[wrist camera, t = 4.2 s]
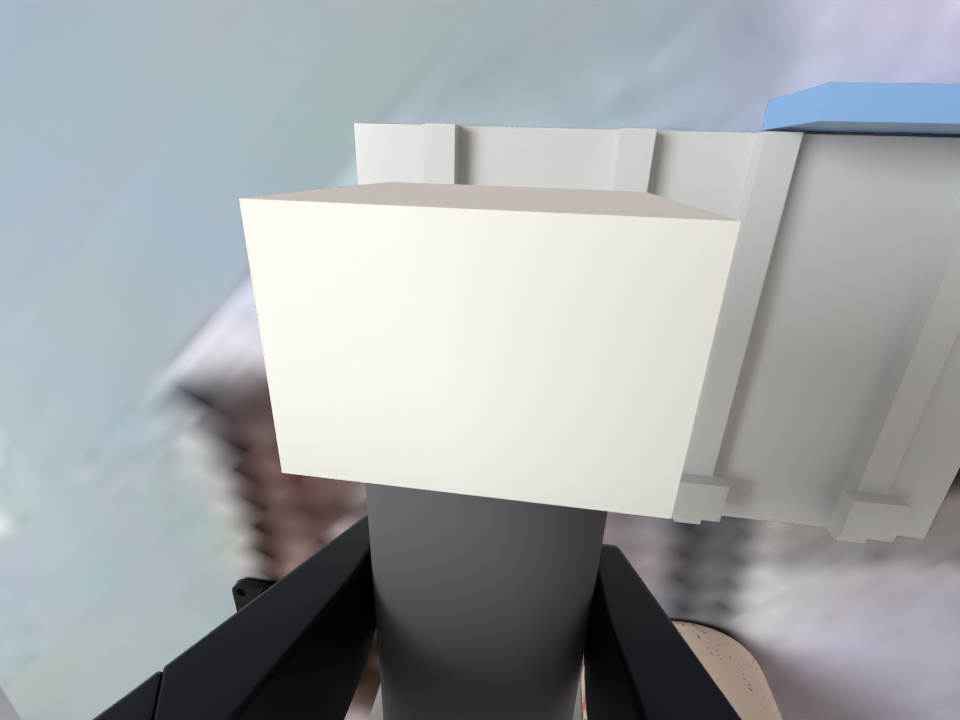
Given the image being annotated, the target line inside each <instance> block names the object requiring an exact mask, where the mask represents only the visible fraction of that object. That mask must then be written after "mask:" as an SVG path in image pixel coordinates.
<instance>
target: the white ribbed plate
mask: <svg viewBox="0 0 960 720" xmlns="http://www.w3.org/2000/svg"><path fill="white" fill-rule="evenodd" d="M354 129H355V144H356V160H357V176H358V185H365V184H374V183H383V182H408V183H433V184H459V185H484V186H509V187H535V188H560V189H585V190H611V191H636V192H648V193H651V194H654V195H657V196H661V197H664V198H667V199H670V200H674V201H677V202H680V203H683V204H687V205H690V206H693V207H696V208H700V209H703V210H706V211H709V212H712V213H716V214H719V215H722V216H725V217H729V218H732V219H735V220H738V221H741V223H740V227H739V232H738V236H737V240H736V244H735V249H734V253H733V257H732V261H731V266H730V270H729V274H728V278H727V283H726V287H725V291H724V296H723V300H722V304H721V308H720V313H719V317H718V321H717V325H716V330H715V334H714V338H713V342H712V347H711V351H710V355H709V359H708V364H707V368H706V372H705V377H704V381H703V385H702V389H701V394H700V398H699V402H698V406H697V411H696V415H695V419H694V423H693V428H692V432H691V436H690V441H689V445H688V449H687V453H686V458H685V462H684V466H683V470H682V475H681V479H680V483H679V487H678V492H677V496H676V500H675V504H674V509H673V513H672V518H673V521H675V522H683V523H692V524H700V523H701V520H706V521H714V522H720V518H721V516H729V517H738V518H747V519H755V520H764V521H773V522H781V523H790V524H799V525H808V526H816V527H825V528H827V529H828V530H829V531H830V533H831V534H832V535H833V537H834V538H835V539H836V541H845V542H853V543H862V544H865V542H866V540H867V539H869V540H877V541H886V542H894V540H895V538H896V536H903V537H912V538H921V539H924V538H925V536H926V534H927V532H928V530H929V528H930V526H931V524H932V522H933V520H934V518H935V516H936V514H937V512H938V510H939V508H940V506H941V504H942V502H943V500H944V498H945V496H946V494H947V492H948V490H949V488H950V486H951V484H952V482H953V480H954V478H955V476H956V474H957V472H958V470H959V468H960V138H949V137H908V136H866V135H824V134H803V132H772V131H813V132H856V133H900V134H943V135H960V84H931V83H846V82H830V83H826V84H823V85H820V86H816V87H813V88H809V89H806V90H803V91H799V92H796V93H793V94H789V95H786V96H783V97H779V98H776V99H773V100H769V103H768V108H767V112H766V116H765V120H764V125H763V129H762V130H770V131H765V132H758V133H740V132H698V131H656V130H657V129H644V128H621V129H619V130H614V129H572V128H531V127H489V126H458V125H456V124H431V123H423V125H405V124H363V123H354Z"/></svg>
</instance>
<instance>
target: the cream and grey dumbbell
mask: <svg viewBox="0 0 960 720" xmlns="http://www.w3.org/2000/svg"><path fill="white" fill-rule="evenodd" d="M239 201H240V207H241V213H242V220H243V226H244V233H245V239H246V245H247V252H248V258H249V265H250V271H251V277H252V284H253V290H254V296H255V303H256V309H257V316H258V322H259V328H260V335H261V341H262V347H263V354H264V360H265V367H266V373H267V379H268V386H269V392H270V399H271V405H272V411H273V418H274V424H275V430H276V437H277V443H278V450H279V456H280V462H281V469H282V473H289V474H298V475H306V476H315V477H323V478H331V479H340V480H348V481H357V482H365V483H366V496H367V510H368V523H369V536H370V549H371V562H372V575H373V589H374V602H375V615H376V628H377V641H378V655H379V668H380V681H381V684H380V687H379V690H378V693H377V696H376V699H375V702H374V705H373V708H372V711H371V714H370V717H369V720H581V699H580V679H579V678H580V672H581V666H582V660H583V654H584V648H585V642H586V636H587V631H588V625H589V619H590V613H591V607H592V601H593V595H594V589H595V583H596V577H597V571H598V565H599V559H600V553H601V547H602V541H603V535H604V529H605V523H606V517H607V512H608V511H609V512H618V513H626V514H634V515H643V516H651V517H660V518H668V519H671V517H672V513H673V509H674V504H675V500H676V496H677V492H678V487H679V483H680V479H681V475H682V470H683V466H684V462H685V458H686V453H687V449H688V445H689V441H690V436H691V432H692V428H693V423H694V419H695V415H696V411H697V406H698V402H699V398H700V394H701V389H702V385H703V381H704V377H705V372H706V368H707V364H708V359H709V355H710V351H711V347H712V342H713V338H714V334H715V330H716V325H717V321H718V317H719V313H720V308H721V304H722V300H723V296H724V291H725V287H726V283H727V278H728V274H729V270H730V266H731V261H732V257H733V253H734V249H735V244H736V240H737V236H738V232H739V227H740V223H741V221H738V220H735V219H732V218H729V217H725V216H722V215H719V214H716V213H712V212H709V211H706V210H703V209H700V208H696V207H693V206H690V205H687V204H683V203H680V202H677V201H674V200H670V199H667V198H664V197H661V196H657V195H654V194H651V193H648V192H636V191H611V190H585V189H560V188H535V187H509V186H484V185H459V184H433V183H408V182H383V183H374V184H365V185H356V186H347V187H338V188H329V189H320V190H311V191H302V192H293V193H284V194H274V195H265V196H256V197H247V198H239Z"/></svg>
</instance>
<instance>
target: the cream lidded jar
mask: <svg viewBox="0 0 960 720" xmlns="http://www.w3.org/2000/svg"><path fill="white" fill-rule="evenodd" d="M672 623H673V624H674V625H675V627H676V628H677V630H678V631H679V632H680V634H681V635H682V637H683V638H684V639H685V641H686V642H687V644H688V645H689V646H690V648H691V649H692V650H693V652H694V653H695V655H696V656H697V657H698V659H699V660H700V662H701V663H702V664H703V666H704V667H705V669H706V670H707V671H708V673H709V674H710V676H711V677H712V678H713V680H714V681H715V683H716V684H717V685H718V687H719V688H720V690H721V691H722V692H723V694H724V695H725V697H726V698H727V699H728V701H729V702H730V704H731V705H732V706H733V708H734V709H735V710H736V712H737V713H738V715H739V716H740V717H741V719H742V720H783V719H782V716H781V714H780V711H779V709H778V707H777V704H776V702H775V699H774V697H773V695H772V692H771V690H770V687H769V685H768V683H767V680H766V678H765V675H764V673H763V671H762V669H761V667H760V665H759V664H758V662H757V661H756V659H755V658H754V657H753V656H752V654H751V653H750V652H749V651H748V650H747V649H746V648H744V647H743V646H742V645H741V644H740V643H738V642H737V641H735V640H734V639H732V638H731V637H729V636H727V635H725V634H723V633H721V632H719V631H716V630H714V629H712V628H708V627H705V626H702V625H698V624H694V623H688V622H680V621H672ZM581 684H582V702H583V720H587V712H586V701H585V681H584V666H583V670H582V678H581Z"/></svg>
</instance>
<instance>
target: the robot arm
mask: <svg viewBox="0 0 960 720" xmlns="http://www.w3.org/2000/svg"><path fill="white" fill-rule="evenodd" d="M232 592H233V596H234V600H235V605H236V609H237V613H235V614H234V615H233V616H231V617H230V618H229V619H227V620H226V621H225V622H223V623H222V624H221V625H219V626H218V627H217V628H215V629H214V630H213V631H211V632H210V633H209V634H207V635H206V636H205V637H203V638H202V639H201V640H199V641H198V642H197V643H195V644H194V645H193V646H191V647H190V648H189V649H187V650H186V651H185V652H183V653H182V654H181V655H179V656H178V657H177V658H175V659H174V660H173V661H171V662H170V663H169V664H167V665H166V666H165V667H164V669H163V673H162V672H160V671H159V672H156V673H155V674H154V675H152V676H151V677H150V678H148V679H147V680H146V681H144V682H143V683H142V684H140V685H139V686H138V687H136V688H135V689H134V690H132V691H131V692H130V693H128V694H127V695H126V696H124V697H123V698H122V699H120V700H119V701H117V702H116V703H115V704H113V705H112V706H110V707H109V708H108V709H106V710H105V711H104V712H102V713H101V714H99V715H98V716H97V717H95V718H94V719H93V720H344V719H345V716H346V714H347V711H348V709H349V706H350V704H351V701H352V699H353V696H354V694H355V691H356V688H357V686H358V683H359V681H360V678H361V676H362V673H363V670H364V667H365V665H366V662H367V658H368V655H369V652H370V648H371V645H372V642H373V638H374V634H375V631H376V615H375V602H374V589H373V575H372V562H371V549H370V536H369V523H368V515H366V516H365V517H363V518H362V519H361V520H359V521H358V522H357V523H355V524H354V525H353V526H351V527H350V528H349V529H347V530H346V531H345V532H343V533H342V534H341V535H339V536H338V537H337V538H335V539H334V540H333V541H331V542H330V543H329V544H327V545H326V546H325V547H323V548H322V549H321V550H319V551H318V552H317V553H315V554H314V555H313V556H311V557H310V558H309V559H307V560H306V561H305V562H303V563H302V564H301V565H299V566H298V567H297V568H295V569H294V570H293V571H291V572H290V573H289V574H287V575H286V576H285V577H283V578H282V579H281V580H279V581H278V582H277V583H275V584H273V583H267V582H260V581H253V580H246V579H240V580H238V582H237V583H236V584H235V586H234V587H233V588H232ZM584 681H585V701H586V712H587V720H742V719H741V717H740V716H739V715H738V713H737V712H736V710H735V709H734V708H733V706H732V705H731V704H730V702H729V701H728V699H727V698H726V697H725V695H724V694H723V692H722V691H721V690H720V688H719V687H718V685H717V684H716V683H715V681H714V680H713V678H712V677H711V676H710V674H709V673H708V671H707V670H706V669H705V667H704V666H703V664H702V663H701V662H700V660H699V659H698V657H697V656H696V655H695V653H694V652H693V650H692V649H691V648H690V646H689V645H688V644H687V642H686V641H685V639H684V638H683V637H682V635H681V634H680V632H679V631H678V630H677V628H676V627H675V625H674V624H673V623H672V621H671V620H670V618H669V617H668V616H667V614H666V613H665V611H664V610H663V609H662V607H661V606H660V604H659V603H658V602H657V600H656V599H655V597H654V596H653V595H652V593H651V592H650V590H649V589H648V588H647V586H646V585H645V584H644V582H643V581H642V579H641V578H640V577H639V575H638V574H637V572H636V571H635V570H634V568H633V567H632V565H631V564H630V563H629V561H628V560H627V558H626V557H625V556H624V554H623V553H622V551H621V550H620V549H619V548H618V547H617V546H615V545H610V544H602V547H601V553H600V559H599V565H598V571H597V577H596V583H595V589H594V595H593V601H592V607H591V613H590V619H589V625H588V631H587V636H586V642H585V648H584Z"/></svg>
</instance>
